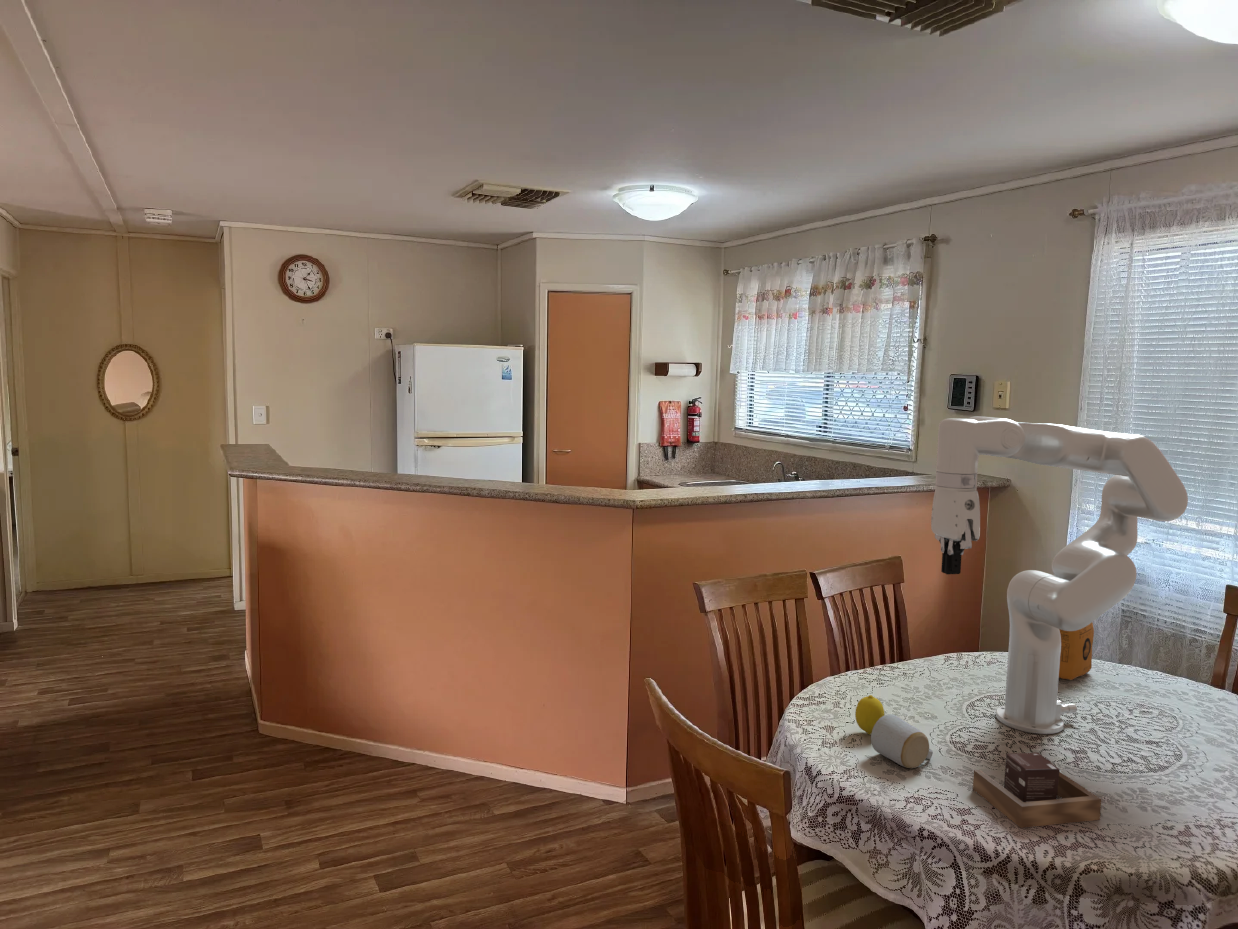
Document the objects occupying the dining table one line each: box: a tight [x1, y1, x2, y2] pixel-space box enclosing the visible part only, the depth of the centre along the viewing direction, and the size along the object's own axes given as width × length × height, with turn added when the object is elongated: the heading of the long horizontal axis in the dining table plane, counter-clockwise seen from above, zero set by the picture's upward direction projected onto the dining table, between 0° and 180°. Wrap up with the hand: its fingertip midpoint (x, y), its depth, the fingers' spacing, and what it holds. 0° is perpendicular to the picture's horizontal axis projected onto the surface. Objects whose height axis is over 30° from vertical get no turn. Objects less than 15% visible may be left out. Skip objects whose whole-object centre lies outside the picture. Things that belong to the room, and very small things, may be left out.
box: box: [1003, 752, 1061, 802], centre depth 139 cm, size 6×6×7 cm
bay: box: [972, 769, 1102, 829], centre depth 138 cm, size 14×12×4 cm
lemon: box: [854, 694, 885, 736], centre depth 165 cm, size 6×6×8 cm
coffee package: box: [1059, 621, 1095, 681], centre depth 200 cm, size 10×12×22 cm
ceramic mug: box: [870, 713, 934, 769], centre depth 154 cm, size 11×8×8 cm
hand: (950, 573), depth 165 cm, fingers closed
